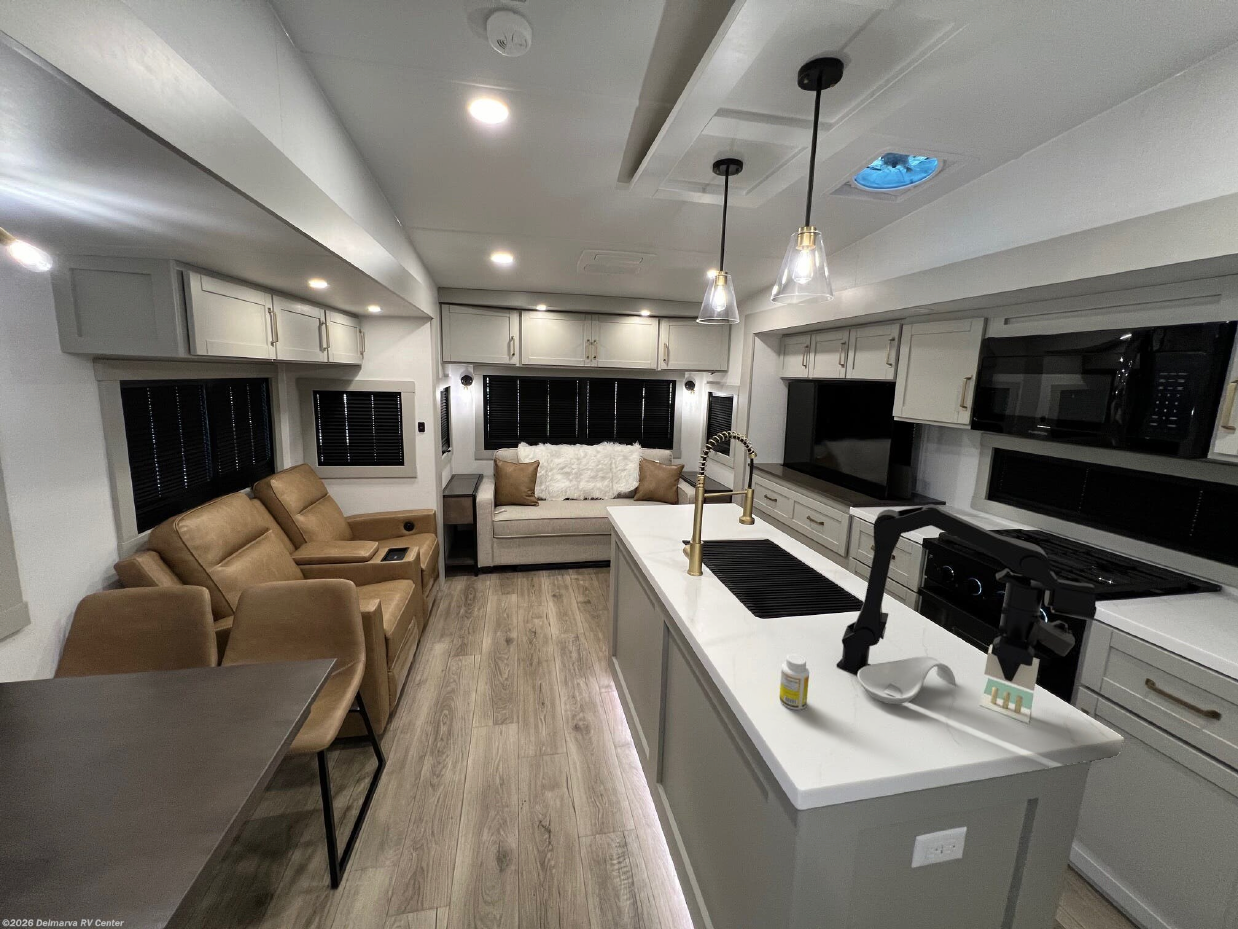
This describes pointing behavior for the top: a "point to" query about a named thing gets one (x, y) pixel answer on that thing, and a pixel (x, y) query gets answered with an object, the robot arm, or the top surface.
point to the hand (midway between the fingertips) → (1009, 675)
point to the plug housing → (1023, 675)
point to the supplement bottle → (794, 682)
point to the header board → (1007, 700)
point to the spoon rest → (901, 677)
